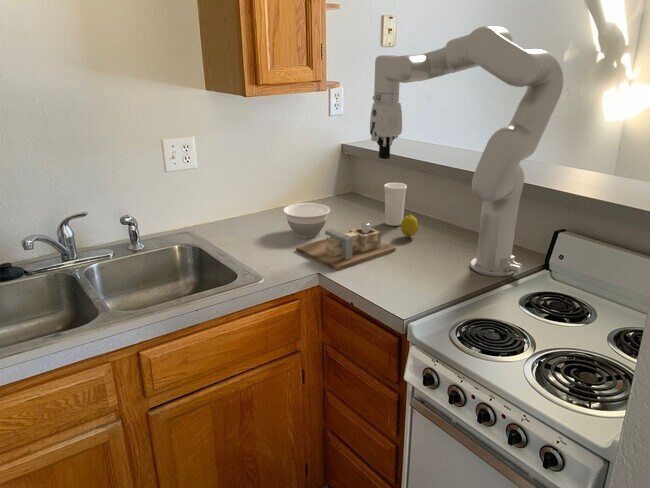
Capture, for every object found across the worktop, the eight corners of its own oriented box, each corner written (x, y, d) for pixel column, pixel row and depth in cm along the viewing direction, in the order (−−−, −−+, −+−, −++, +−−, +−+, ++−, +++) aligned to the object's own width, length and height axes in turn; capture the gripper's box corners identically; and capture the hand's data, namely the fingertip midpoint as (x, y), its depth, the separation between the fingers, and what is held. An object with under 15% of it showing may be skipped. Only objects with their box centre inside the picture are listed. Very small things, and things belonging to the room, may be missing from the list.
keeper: (352, 258, 160) (352, 237, 157) (346, 260, 158) (346, 239, 156) (331, 248, 167) (331, 228, 165) (325, 250, 166) (325, 230, 163)
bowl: (278, 228, 189) (277, 205, 186) (321, 223, 194) (321, 200, 190) (291, 243, 175) (290, 218, 172) (336, 237, 179) (337, 213, 176)
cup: (402, 220, 197) (404, 182, 191) (407, 227, 189) (409, 188, 184) (380, 220, 196) (382, 182, 191) (384, 227, 189) (385, 188, 184)
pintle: (371, 244, 170) (372, 223, 168) (365, 246, 168) (365, 225, 166) (365, 242, 172) (366, 221, 170) (359, 244, 170) (359, 223, 168)
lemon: (416, 234, 182) (418, 212, 179) (417, 240, 177) (419, 217, 174) (400, 234, 183) (401, 211, 180) (400, 240, 177) (401, 217, 174)
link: (367, 240, 173) (367, 226, 172) (380, 247, 168) (380, 232, 166) (322, 251, 165) (322, 236, 163) (335, 258, 160) (335, 243, 158)
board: (395, 251, 168) (395, 247, 168) (336, 270, 154) (336, 266, 154) (353, 234, 183) (353, 230, 182) (296, 250, 169) (296, 247, 168)
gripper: (377, 101, 155) (375, 163, 162) (412, 97, 164) (409, 157, 171) (359, 99, 161) (358, 159, 167) (394, 95, 169) (392, 153, 176)
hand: (384, 158), depth 169 cm, fingers closed
